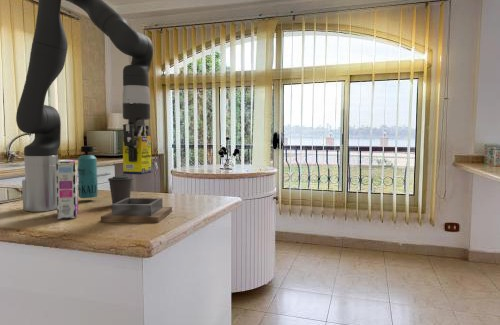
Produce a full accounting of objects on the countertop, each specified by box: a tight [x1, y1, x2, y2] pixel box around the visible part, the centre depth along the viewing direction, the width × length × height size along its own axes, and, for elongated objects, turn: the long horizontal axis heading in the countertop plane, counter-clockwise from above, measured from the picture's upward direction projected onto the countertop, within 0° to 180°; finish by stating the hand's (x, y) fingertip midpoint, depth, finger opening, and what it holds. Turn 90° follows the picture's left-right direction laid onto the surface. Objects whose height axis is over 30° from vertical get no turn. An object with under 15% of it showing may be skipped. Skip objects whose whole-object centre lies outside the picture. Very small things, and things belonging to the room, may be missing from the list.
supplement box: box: [122, 135, 152, 176], centre depth 100 cm, size 6×6×11 cm
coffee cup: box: [107, 174, 134, 205], centre depth 117 cm, size 8×8×10 cm
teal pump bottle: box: [77, 145, 99, 199], centre depth 125 cm, size 6×7×20 cm
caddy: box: [100, 197, 173, 224], centre depth 101 cm, size 16×14×4 cm
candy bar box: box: [56, 159, 79, 221], centre depth 102 cm, size 11×5×16 cm, turn 23°
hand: (137, 160), depth 100 cm, fingers closed on supplement box, 6 cm apart
